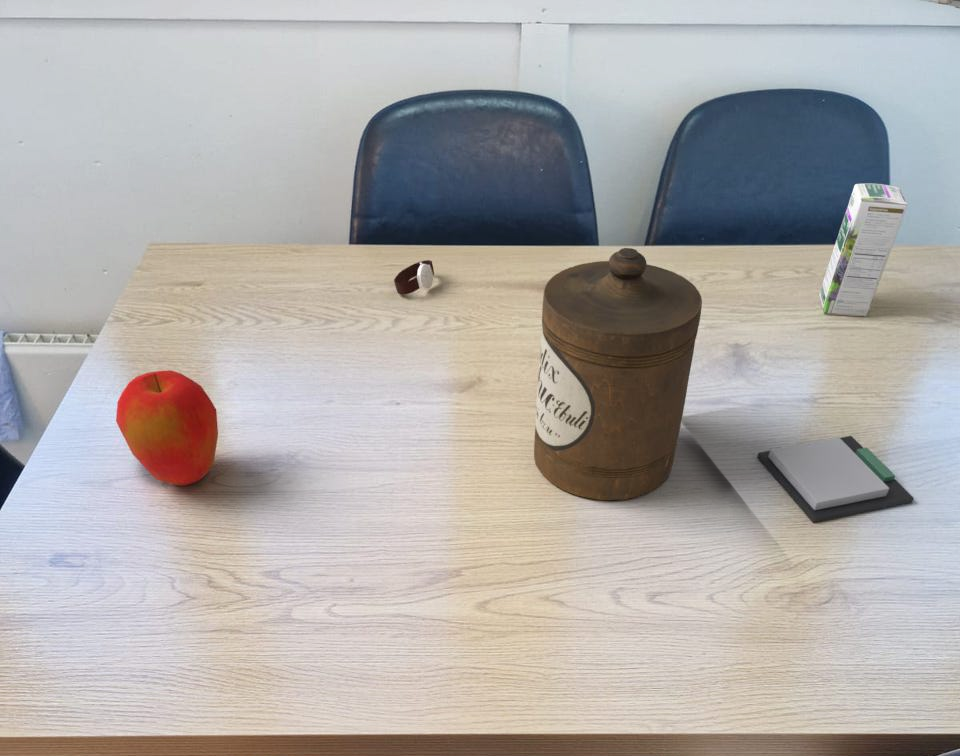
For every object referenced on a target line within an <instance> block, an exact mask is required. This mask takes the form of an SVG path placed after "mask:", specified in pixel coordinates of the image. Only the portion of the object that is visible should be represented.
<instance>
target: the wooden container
mask: <svg viewBox="0 0 960 756" xmlns="http://www.w3.org/2000/svg"><path fill="white" fill-rule="evenodd" d="M542 297H543V298H542V309H541V314H542V315H541V327H542V328H541V337H540V338H541V339H540V351H539V352H540V354H539V363H538V364H539V366H538V376H537V377H538V378H537V389H536V401H535V418H534V419H535V420H534V421H535V422H534V425H535V427H534V444H533V459H534V462H535V465H536V467H537V469H538V470H539V472H540V473H541V475H542V476H543V477H544V478H545V479H546V480H547V481H548V482H549V483H551V484H553V485H554V486H556V487H557V488H559V489H561V490H563V491H565V492H567V493H570V494H572V495H574V496H578V497H583V498H587V499H592V500H601V501H602V500H603V501H619V500H627V499H632V498H637V497H640V496H643V495H646V494H648V493H650V492H652V491H653V490H655V489H657V488H658V487H660V486H661V485H662V484H663V483H665V481H666V480H667V479H668V478H669V476H670V474H671V471H672V467H673V464H674V460H675V455H676V449H677V443H678V439H679V436H680V430H681V426H682V420H683V416H684V411H685V403H686V399H687V394H688V393H687V392H688V387H689V386H688V385H689V381H690V374H691V369H692V362H693V358H694V353H695V352H694V351H695V347H696V339H697V336H698V331H699V326H700V320H701V316H702V308H703V307H702V306H703V299H702V295H701V293H700V291H699V289H698V288H697V287H696V286H695V285H694V284H693V283H692V282H691V281H690V280H688V279H687V278H686V277H684V276H682V275H680V274H678V273H676V272H674V271H671V270H668V269H666V268H663V267H659V266H656V265H652V264H647V260H646V258H645V256H644V255H643V254H641V253H640V252H639V251H638V250H637V249H635V248H630V247H623V248H621V249H619V250H618V251H615V252H613V253H612V255H611V256H609V260H601V261H592V262H585V263H579V264H577V265H574V266H570V267H568V268H565V269H563V270H561V271H560V272H557V273H556V274H555V275H553V276H552V277H551V278H550V279H549V280H548V281H547V282H546V285H545V287H544V290H543V296H542Z"/></svg>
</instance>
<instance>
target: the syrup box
mask: <svg viewBox="0 0 960 756" xmlns="http://www.w3.org/2000/svg"><path fill="white" fill-rule="evenodd" d="M907 208H908V202H907V201H906V199H905V195H904V194H903V192H902V190H901V188H900V187H899V186H894V185H889V184H883V183H855V184H854V186H853V189H852V192H851V195H850V198H849V201H848V205H847V207H846V210H845V213H844V216H843V219H842V222H841V225H840V227H839V231H838V235H837V238H836V240H835V244H834V247H833V250H832V252H831V256H830V260H829V262H828V265H827V268H826V272H825V274H824V278H823V281H822V284H821V287H820V291H819V295H818V297H819V299H820V304H821V308H822V311H823V314H825V315H835V316H836V315H837V316H851V317H852V316H853V317H854V316H856V317H867V316H868V314H869V311H870V308H871V305H872V303H873V300H874V298H875V295H876V292H877V289H878V287H879V284H880V281H881V279H882V275H883V272H884V270H885V268H886V264H887V262H888V259H889V256H890V254H891V251H892V249H893V246H894V244H895V240H896V238H897V235H898V232H899V230H900V228H901V225H902V222H903V218H904V216H905V213H906V211H907Z"/></svg>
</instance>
